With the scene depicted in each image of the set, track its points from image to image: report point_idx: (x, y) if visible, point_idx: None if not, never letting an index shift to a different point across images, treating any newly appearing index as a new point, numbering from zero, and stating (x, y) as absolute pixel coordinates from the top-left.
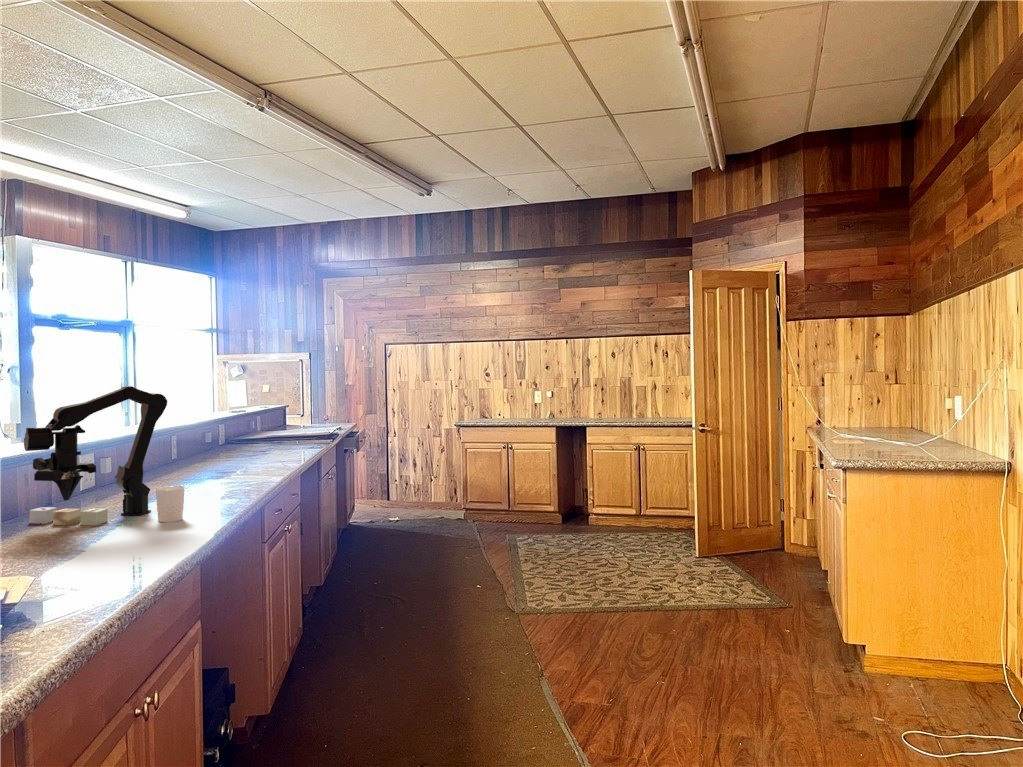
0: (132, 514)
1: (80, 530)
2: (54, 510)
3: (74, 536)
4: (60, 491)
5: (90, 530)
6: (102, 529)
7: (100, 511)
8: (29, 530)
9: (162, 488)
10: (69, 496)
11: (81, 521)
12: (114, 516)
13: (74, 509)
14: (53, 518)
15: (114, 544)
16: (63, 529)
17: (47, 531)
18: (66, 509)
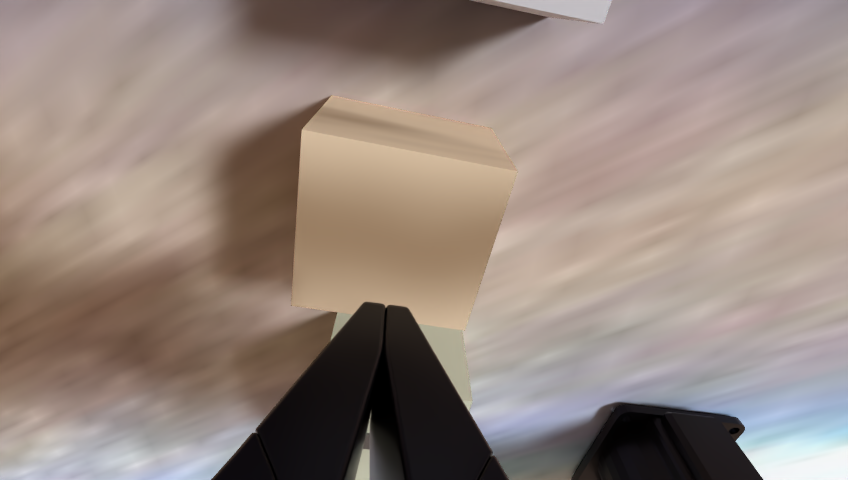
0: (587, 462)
1: (173, 377)
2: (536, 10)
3: (26, 411)
4: (276, 407)
5: (187, 419)
6: (225, 454)
7: (362, 476)
8: (40, 3)
9: None
10: (373, 405)
11: (333, 330)
12: (597, 382)
13: (436, 293)
14: (320, 113)
15: None
16: (170, 275)
17: (72, 199)
18: (443, 217)
